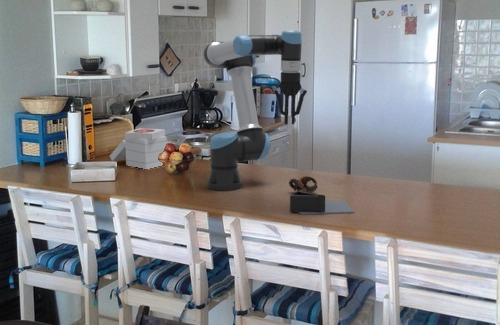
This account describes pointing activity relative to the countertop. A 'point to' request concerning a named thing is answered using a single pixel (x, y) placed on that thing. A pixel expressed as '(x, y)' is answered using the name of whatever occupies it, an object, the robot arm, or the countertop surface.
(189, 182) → the countertop surface
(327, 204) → the slate mat
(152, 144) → the pizza boxes
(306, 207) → the phone stand
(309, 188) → the pottery mug
